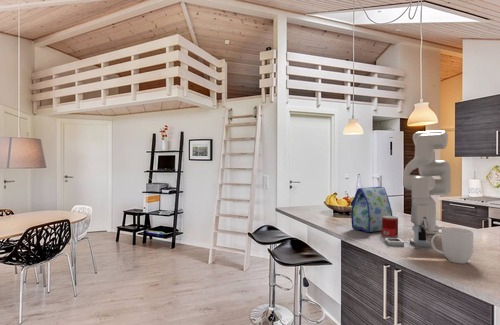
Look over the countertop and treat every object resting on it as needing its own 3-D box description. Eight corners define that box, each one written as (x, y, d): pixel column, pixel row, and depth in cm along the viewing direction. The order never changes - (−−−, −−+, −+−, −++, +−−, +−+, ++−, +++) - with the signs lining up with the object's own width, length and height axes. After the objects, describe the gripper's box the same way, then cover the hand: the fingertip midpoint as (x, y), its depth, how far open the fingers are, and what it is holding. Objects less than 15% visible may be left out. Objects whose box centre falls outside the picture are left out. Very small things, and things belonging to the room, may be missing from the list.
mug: (428, 259, 127) (429, 228, 127) (433, 253, 136) (433, 224, 136) (472, 267, 118) (472, 234, 118) (474, 260, 126) (474, 229, 126)
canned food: (399, 238, 162) (399, 218, 162) (383, 237, 164) (384, 217, 164) (395, 235, 170) (395, 215, 170) (380, 234, 171) (380, 215, 171)
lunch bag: (371, 224, 197) (371, 185, 197) (394, 230, 183) (394, 187, 183) (347, 228, 186) (348, 186, 186) (370, 234, 172) (370, 189, 172)
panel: (424, 243, 152) (425, 237, 152) (437, 251, 138) (437, 245, 138) (379, 241, 155) (379, 236, 155) (387, 249, 141) (387, 243, 141)
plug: (422, 242, 148) (423, 224, 148) (426, 245, 144) (426, 226, 144) (411, 242, 149) (411, 224, 148) (414, 244, 145) (414, 226, 144)
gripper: (405, 199, 155) (405, 234, 155) (419, 204, 138) (418, 243, 138) (421, 199, 154) (421, 235, 154) (436, 204, 137) (436, 244, 137)
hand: (420, 238), depth 146 cm, fingers closed on plug, 4 cm apart
